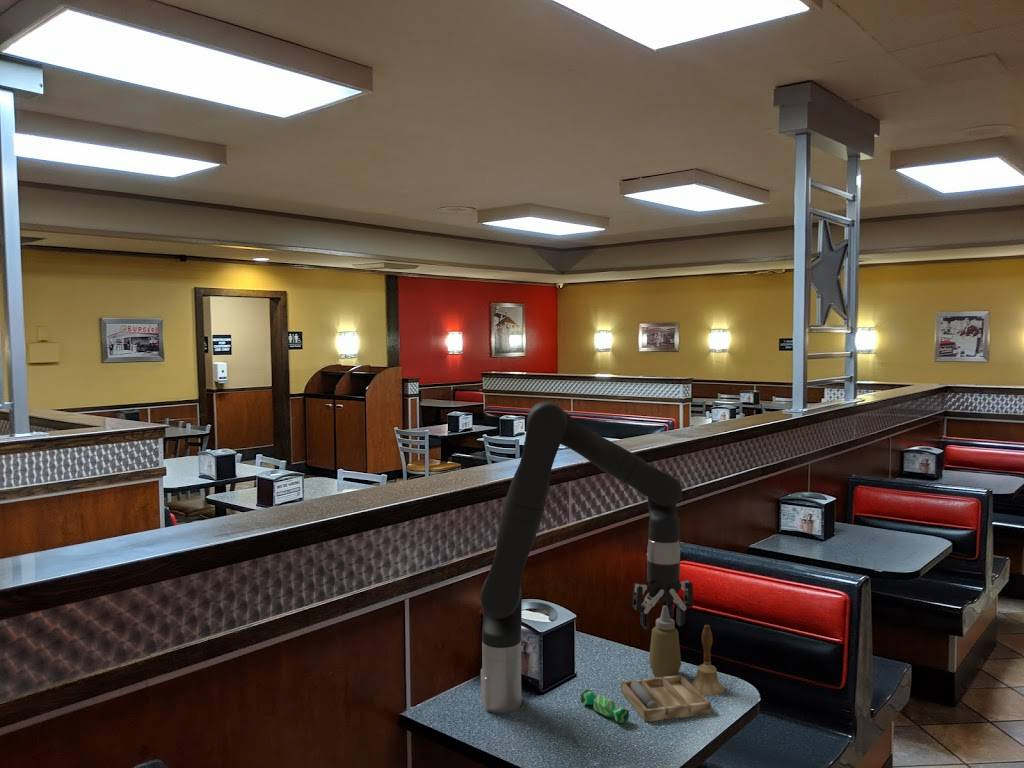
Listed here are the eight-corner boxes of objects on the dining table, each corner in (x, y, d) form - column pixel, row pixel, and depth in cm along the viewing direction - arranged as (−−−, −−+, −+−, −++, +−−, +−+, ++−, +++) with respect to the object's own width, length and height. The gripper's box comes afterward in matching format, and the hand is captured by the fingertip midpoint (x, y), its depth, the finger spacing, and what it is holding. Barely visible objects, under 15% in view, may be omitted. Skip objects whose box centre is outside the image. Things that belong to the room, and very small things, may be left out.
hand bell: (725, 698, 177) (726, 632, 177) (690, 695, 179) (690, 630, 178) (723, 683, 185) (723, 620, 185) (689, 680, 187) (689, 617, 186)
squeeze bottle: (647, 680, 187) (647, 610, 186) (650, 667, 195) (650, 599, 194) (679, 684, 184) (680, 613, 184) (682, 671, 192) (682, 602, 191)
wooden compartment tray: (644, 721, 166) (644, 711, 166) (620, 691, 181) (620, 681, 181) (710, 713, 170) (710, 703, 170) (681, 684, 185) (681, 674, 184)
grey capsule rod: (649, 714, 168) (649, 703, 168) (628, 689, 180) (628, 679, 180) (659, 712, 169) (659, 702, 168) (638, 688, 181) (638, 678, 181)
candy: (628, 722, 167) (628, 705, 167) (618, 727, 165) (618, 709, 164) (591, 702, 176) (591, 686, 176) (580, 707, 174) (580, 690, 174)
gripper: (641, 565, 169) (640, 635, 170) (699, 561, 172) (698, 630, 173) (628, 555, 176) (628, 623, 177) (684, 552, 179) (683, 618, 180)
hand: (662, 626), depth 175 cm, fingers open, 8 cm apart
